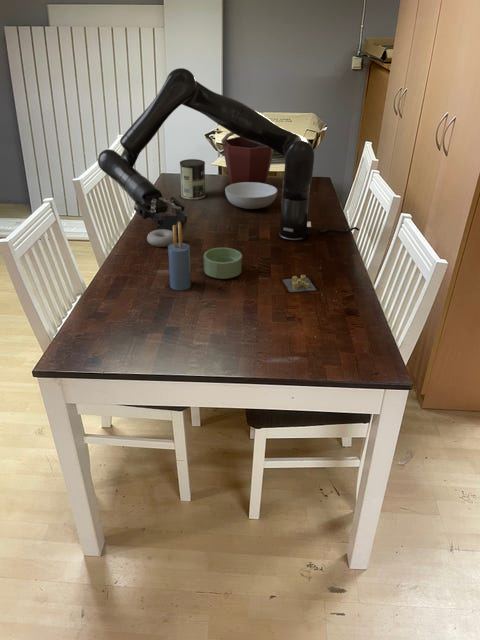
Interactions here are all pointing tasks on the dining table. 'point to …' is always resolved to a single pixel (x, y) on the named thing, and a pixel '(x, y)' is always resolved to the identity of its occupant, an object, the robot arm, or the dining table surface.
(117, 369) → the dining table surface
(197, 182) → the coffee can
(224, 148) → the bucket
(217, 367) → the dining table surface
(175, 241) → the breadstick jar
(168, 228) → the phone
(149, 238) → the donut
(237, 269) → the bowl
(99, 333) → the dining table surface
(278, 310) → the dining table surface
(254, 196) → the serving bowl
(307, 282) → the carved rune cylinders
